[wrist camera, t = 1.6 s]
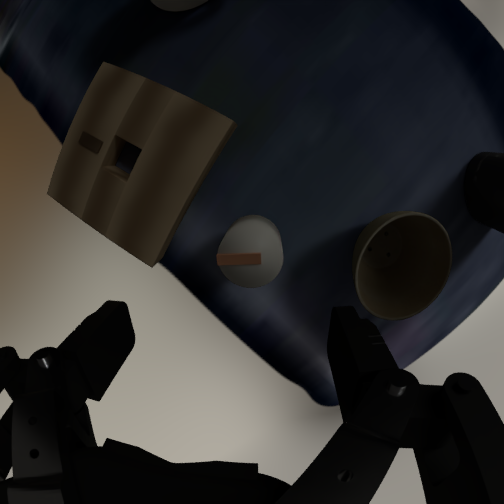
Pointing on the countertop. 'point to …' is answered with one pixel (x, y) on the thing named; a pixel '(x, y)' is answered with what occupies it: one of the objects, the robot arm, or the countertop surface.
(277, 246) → the knob
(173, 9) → the mug
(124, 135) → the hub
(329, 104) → the countertop surface
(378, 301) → the yellowish brown bowl
